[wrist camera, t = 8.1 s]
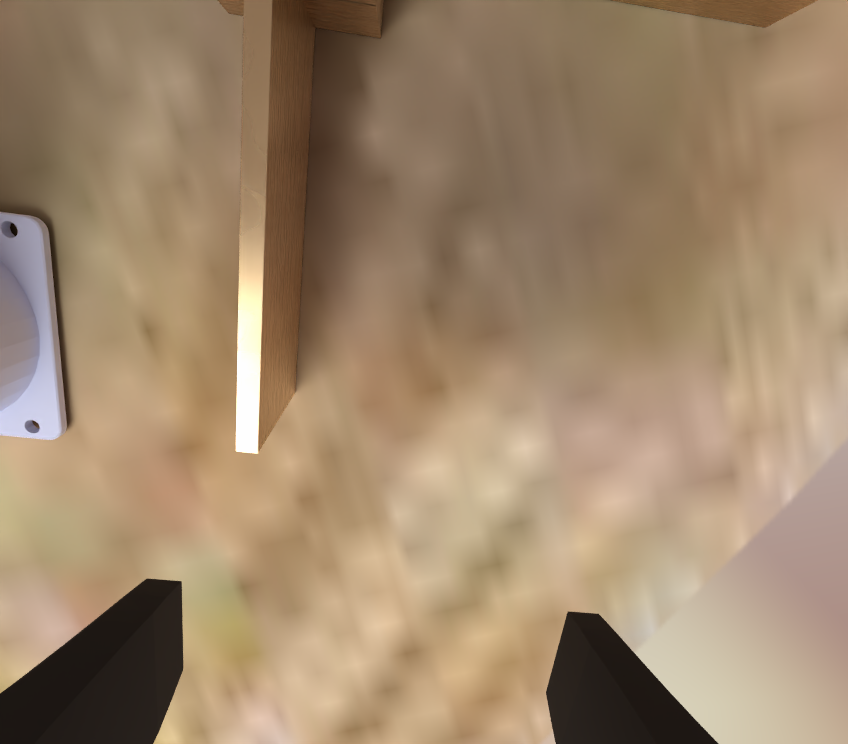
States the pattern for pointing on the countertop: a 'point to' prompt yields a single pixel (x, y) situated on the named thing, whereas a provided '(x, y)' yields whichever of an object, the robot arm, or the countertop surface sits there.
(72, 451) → the countertop surface
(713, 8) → the hinge leaves
